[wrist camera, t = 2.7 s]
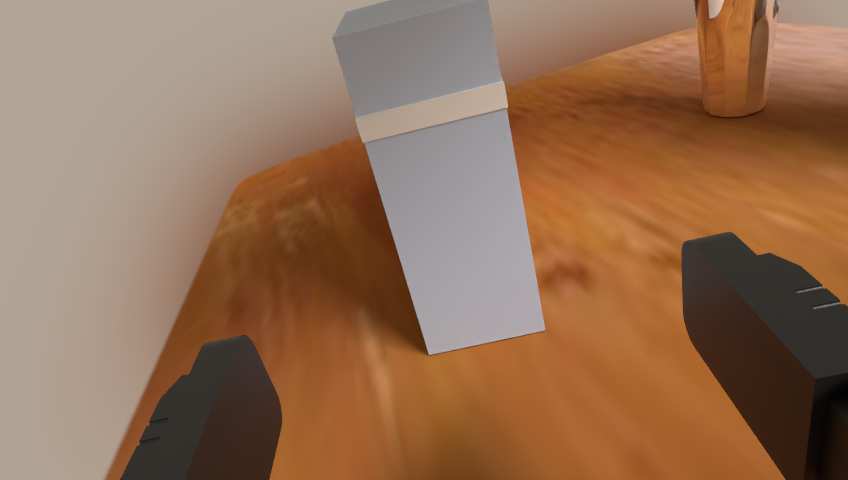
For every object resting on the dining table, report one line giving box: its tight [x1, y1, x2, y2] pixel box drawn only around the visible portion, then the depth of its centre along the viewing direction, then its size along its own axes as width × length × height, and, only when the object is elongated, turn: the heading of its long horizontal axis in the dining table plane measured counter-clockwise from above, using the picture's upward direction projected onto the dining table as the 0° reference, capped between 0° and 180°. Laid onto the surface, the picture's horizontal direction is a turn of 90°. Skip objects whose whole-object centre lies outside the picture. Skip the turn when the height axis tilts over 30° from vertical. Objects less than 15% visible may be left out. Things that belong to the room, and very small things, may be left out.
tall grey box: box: [333, 0, 545, 355], centre depth 22 cm, size 5×5×12 cm
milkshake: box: [694, 0, 780, 118], centre depth 33 cm, size 4×5×10 cm
